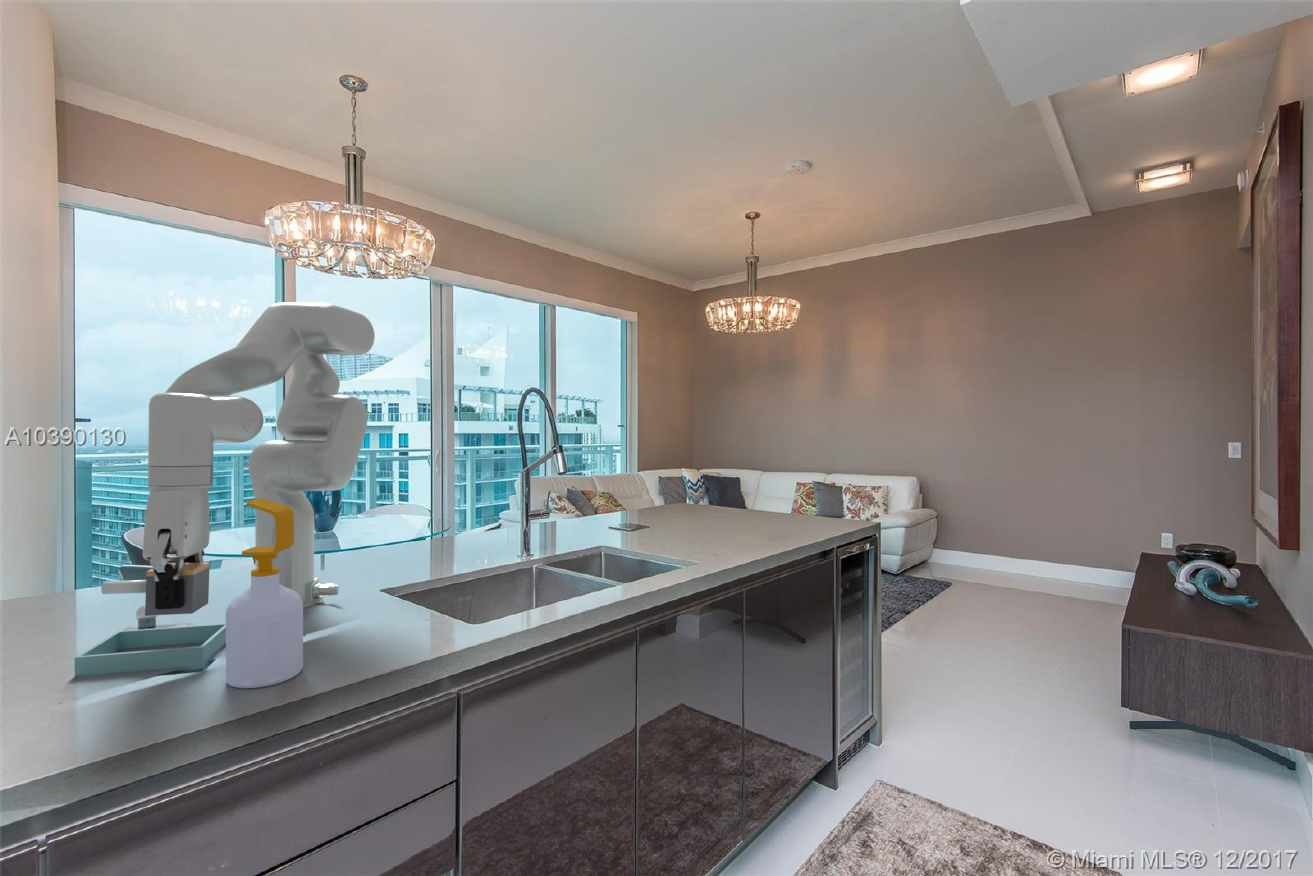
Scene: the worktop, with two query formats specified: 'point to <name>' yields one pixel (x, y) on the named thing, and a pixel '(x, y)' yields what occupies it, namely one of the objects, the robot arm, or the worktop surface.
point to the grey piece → (150, 621)
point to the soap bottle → (265, 616)
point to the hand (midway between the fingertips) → (179, 601)
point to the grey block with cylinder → (193, 586)
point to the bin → (196, 658)
